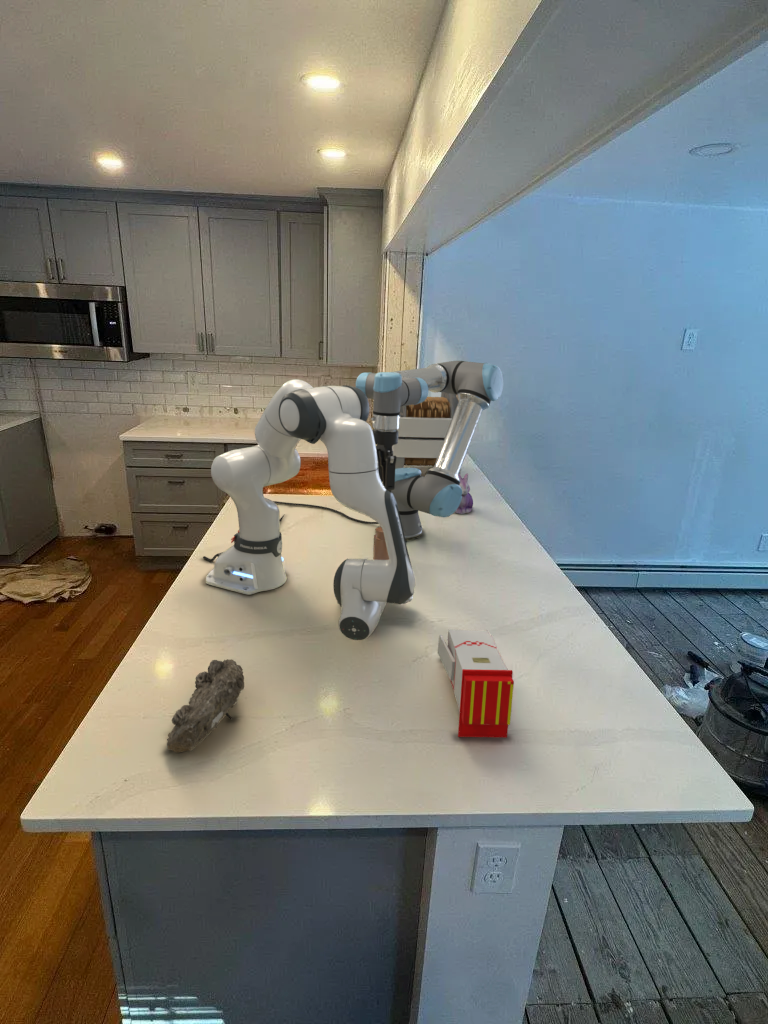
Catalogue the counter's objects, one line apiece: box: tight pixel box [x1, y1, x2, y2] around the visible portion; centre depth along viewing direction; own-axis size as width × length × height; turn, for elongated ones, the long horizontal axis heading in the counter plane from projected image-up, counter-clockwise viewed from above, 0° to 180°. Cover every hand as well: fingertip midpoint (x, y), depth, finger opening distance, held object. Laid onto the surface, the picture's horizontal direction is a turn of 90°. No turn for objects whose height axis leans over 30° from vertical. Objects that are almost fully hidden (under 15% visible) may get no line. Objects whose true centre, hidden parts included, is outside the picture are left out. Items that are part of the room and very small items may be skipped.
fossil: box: [166, 658, 245, 754], centre depth 106 cm, size 22×10×15 cm
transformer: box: [392, 392, 462, 475], centre depth 268 cm, size 34×33×41 cm
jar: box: [372, 526, 389, 560], centre depth 153 cm, size 5×5×20 cm
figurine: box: [454, 473, 474, 515], centre depth 223 cm, size 9×10×15 cm
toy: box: [437, 628, 515, 738], centre depth 117 cm, size 12×13×30 cm
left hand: (381, 573), depth 155 cm, fingers closed on jar, 4 cm apart
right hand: (381, 507), depth 166 cm, fingers closed on lid, 5 cm apart
